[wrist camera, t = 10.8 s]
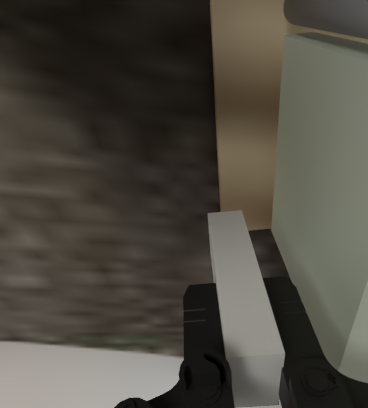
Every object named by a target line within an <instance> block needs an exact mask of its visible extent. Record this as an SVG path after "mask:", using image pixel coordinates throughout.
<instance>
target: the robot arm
mask: <svg viewBox="0 0 368 408" xmlns="http://www.w3.org/2000/svg"><path fill="white" fill-rule="evenodd" d="M208 226H209V239H210V252H211V262H212V271H213V279H214V283H210V284H198V285H189V286H188V288H187V290H186V292H185V295H184V297H183V305H184V361H183V362H182V364H181V367H180V371H179V379H180V380H179V381H178V383H177V384H176V385H175V386H174V387H173V388H172V389H171V390H169V391H168V392H166V393H164V394H163V395H160V396H158V397H155V398H153V399H151V400H149V401H145V400H143V399H141V398H128V399H126V400H124V401H122V402H120V403H119V404H118V405H117V406H116V407H114V408H236V407H252V406H269V405H279V398H280V401H281V405H282V408H368V383H365V382H361V381H357V380H354V379H352V378H349V377H347V376H345V375H343V374H342V373H340V372H339V371H337V370H336V369H335V368H334V367H333V366H332V365H331V364H330V363H329V361H328V360H327V359H326V357H325V355H324V353H323V351H322V348H321V346H320V344H319V341H318V339H317V336H316V334H315V331H314V329H313V327H312V324H311V322H310V319H309V317H308V315H307V313H306V310H305V307H304V305H303V302H302V301H301V298H300V295H299V293H298V290H297V288H296V286H295V285H294V284H293V283H292V282H291V281H290V280H289V279H288V278H287V277H273V278H262V275H261V272H260V269H259V265H258V262H257V259H256V255H255V252H254V249H253V246H252V242H251V239H250V236H249V232H248V229H247V226H246V222H245V219H244V216H243V213H242V210H237V211H227V212H216V213H208Z"/></svg>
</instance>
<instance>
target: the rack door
mask: <svg viewBox="0 0 368 408" xmlns="http://www.w3.org/2000/svg"><path fill="white" fill-rule="evenodd" d="M283 12H284V16H285V18H286V20H287V21H288V22H289V23H291V24H293V25H297V26H302V27H307V28H312V29H317V30H323V31H328V32H333V33H338V34H343V35H348V36H353V37H358V38H363V39H368V0H285V1H284V6H283ZM271 231H272V234H273V236H274V239H275V241H276V244H277V246H278V249H279V251H280V254H281V256H282V258H283V261H284V263H285V266H286V268H287V271H288V273H289V276H290V278H291V281H292V283H293V284H294V285H295V286H296V288H297V290H298V293H299V295H300V298H301V301H302V302H303V305H304V307H305V310H306V313H307V315H308V317H309V319H310V322H311V324H312V327H313V329H314V331H315V334H316V336H317V339H318V341H319V344H320V346H321V348H322V351H323V353H324V355H325V357H326V359H327V360H328V361H329V363H330V364H331V365H332V366H333V367H334V368H335V369H336V370H337V371H339V372H340V373H342V374H343V375H345V376H347V377H349V378H352V379H354V380H357V381H361V382H365V383H368V44H367V43H362V42H358V41H353V40H349V39H344V38H340V37H335V36H330V35H326V34H321V33H317V32H306V33H298V34H289V35H284V43H283V58H282V73H281V89H280V104H279V119H278V135H277V150H276V165H275V180H274V196H273V211H272V226H271Z"/></svg>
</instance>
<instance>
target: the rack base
mask: <svg viewBox="0 0 368 408" xmlns="http://www.w3.org/2000/svg"><path fill="white" fill-rule="evenodd" d="M284 1H285V0H210V16H211V36H212V56H213V77H214V97H215V117H216V137H217V157H218V177H219V197H220V212H227V211H237V210H242V213H243V216H244V219H245V222H246V226H247V229H248V231H249V230H260V229H271V226H272V211H273V196H274V180H275V165H276V150H277V135H278V119H279V104H280V89H281V73H282V58H283V43H284V35H289V34H298V33H306V32H317V33H321V34H326V35H330V36H335V37H340V38H344V39H349V40H353V41H358V42H362V43H367V44H368V39H363V38H358V37H353V36H348V35H343V34H338V33H333V32H328V31H323V30H317V29H312V28H307V27H302V26H297V25H293V24H291V23H289V22H288V21H287V20H286V18H285V16H284V12H283V6H284Z"/></svg>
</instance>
